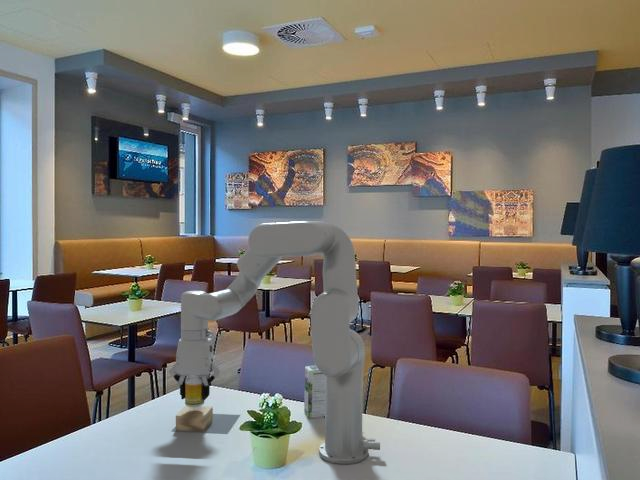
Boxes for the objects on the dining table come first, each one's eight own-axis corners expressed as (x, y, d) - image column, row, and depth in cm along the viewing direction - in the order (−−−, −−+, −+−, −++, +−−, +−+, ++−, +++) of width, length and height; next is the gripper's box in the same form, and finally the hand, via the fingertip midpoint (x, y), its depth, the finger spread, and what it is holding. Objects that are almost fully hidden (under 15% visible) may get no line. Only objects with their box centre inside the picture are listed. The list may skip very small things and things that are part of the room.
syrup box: (303, 412, 158) (303, 366, 157) (321, 410, 159) (321, 364, 159) (308, 418, 152) (308, 371, 152) (327, 416, 154) (327, 369, 154)
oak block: (212, 420, 148) (212, 406, 148) (203, 431, 140) (203, 416, 140) (186, 419, 148) (186, 405, 148) (175, 430, 141) (175, 415, 140)
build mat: (240, 418, 152) (240, 414, 152) (227, 438, 138) (227, 433, 138) (188, 416, 154) (188, 412, 154) (170, 435, 140) (170, 431, 140)
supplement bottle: (185, 401, 146) (185, 368, 146) (204, 400, 147) (204, 367, 147) (184, 408, 141) (184, 374, 141) (204, 407, 142) (204, 373, 142)
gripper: (227, 332, 146) (227, 394, 147) (170, 331, 148) (170, 392, 148) (220, 338, 139) (220, 403, 139) (160, 336, 141) (160, 401, 141)
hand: (194, 397), depth 144 cm, fingers closed on supplement bottle, 5 cm apart
